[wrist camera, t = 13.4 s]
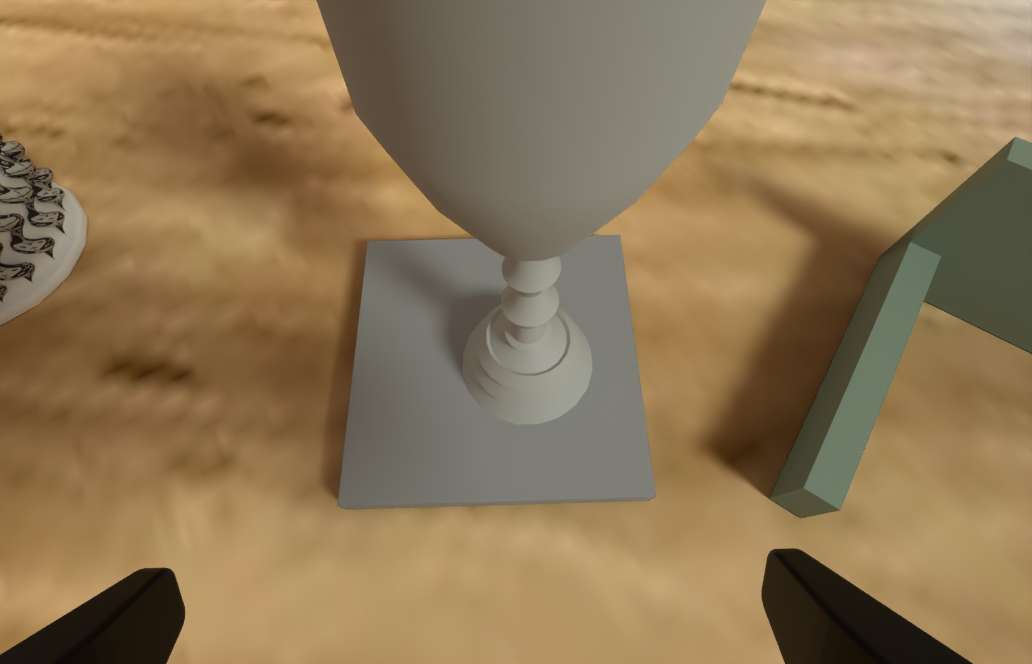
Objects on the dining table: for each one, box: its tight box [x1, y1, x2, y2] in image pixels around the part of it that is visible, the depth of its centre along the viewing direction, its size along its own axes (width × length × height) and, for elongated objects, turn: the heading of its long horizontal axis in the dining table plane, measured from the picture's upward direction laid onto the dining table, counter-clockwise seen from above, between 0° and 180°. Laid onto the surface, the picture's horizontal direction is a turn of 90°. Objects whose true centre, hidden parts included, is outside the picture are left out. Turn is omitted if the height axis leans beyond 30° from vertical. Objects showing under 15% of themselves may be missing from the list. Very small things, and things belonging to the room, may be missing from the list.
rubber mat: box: [337, 235, 656, 509], centre depth 21 cm, size 11×11×1 cm
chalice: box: [317, 0, 766, 425], centre depth 12 cm, size 7×7×18 cm
